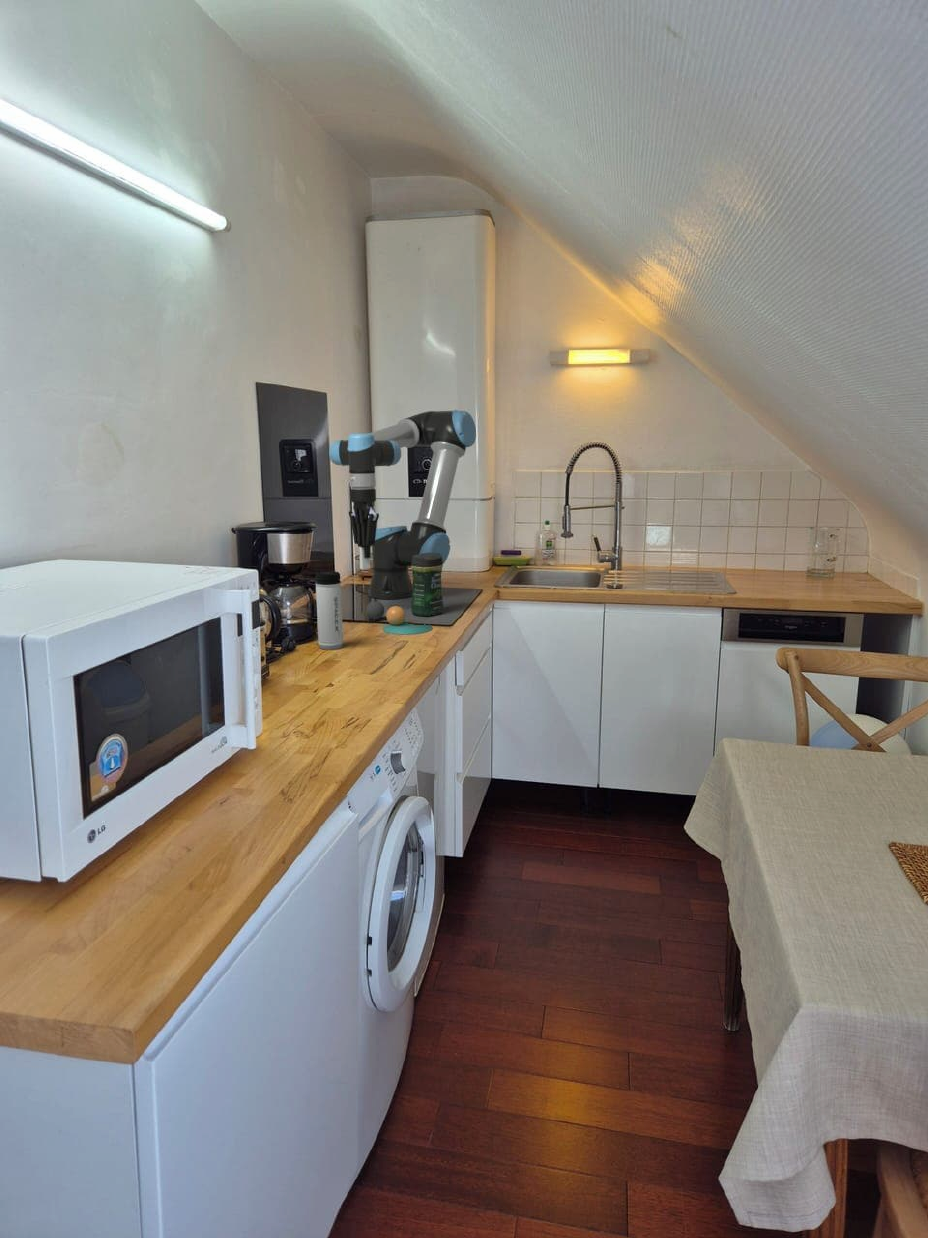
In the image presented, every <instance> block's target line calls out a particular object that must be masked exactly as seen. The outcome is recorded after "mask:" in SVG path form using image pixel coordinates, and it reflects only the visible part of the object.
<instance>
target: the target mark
mask: <svg viewBox="0 0 928 1238" xmlns="http://www.w3.org/2000/svg"><path fill="white" fill-rule="evenodd" d="M426 624H427V623H424V625H413V624H408V623H402V624H400V625H392V624H390V623H389V624H386V625H384V626H383V627H382V629H381V630H382V631H383V632H384V633H387V634H392V635H418V634H425V633H428V632H430V631H432V630H433V626H432V625H431V624H428V625H426Z"/></svg>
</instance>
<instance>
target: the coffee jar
mask: <svg viewBox="0 0 928 1238" xmlns="http://www.w3.org/2000/svg"><path fill="white" fill-rule="evenodd" d="M443 566H444V564H443V562H442V556H441V555H440V554H438V553H423V554H418V555H414V556H413V557H412V560H411V566H410V567H411V568H410V569H411V572H412V586H413V588H412V596H411V608H410V609H411V612H410V613H411V614H412V615H414V614H415V615H414V616H416V615H419V616H418V617H424V616H425V617H431V615H433V616H436V615H440V614H442V613H443V612H444V604H443V603H444V602H443V601H444V600H443V591H442V590H443V589H442V573H443V572H442V571H443Z"/></svg>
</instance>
